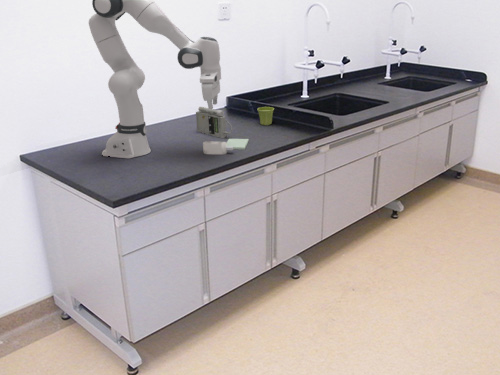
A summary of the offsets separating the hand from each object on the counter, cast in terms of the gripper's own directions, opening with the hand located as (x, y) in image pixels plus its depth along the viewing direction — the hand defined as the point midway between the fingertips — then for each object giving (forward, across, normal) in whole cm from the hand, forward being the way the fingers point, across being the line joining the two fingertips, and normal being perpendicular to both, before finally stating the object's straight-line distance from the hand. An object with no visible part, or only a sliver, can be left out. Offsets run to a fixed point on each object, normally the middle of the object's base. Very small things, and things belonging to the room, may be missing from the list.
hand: (212, 106), depth 223 cm
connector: (+22, 0, +1) cm, 22 cm away
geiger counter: (+22, -30, -6) cm, 38 cm away
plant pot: (+22, -53, +18) cm, 60 cm away
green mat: (+22, -13, +8) cm, 27 cm away
